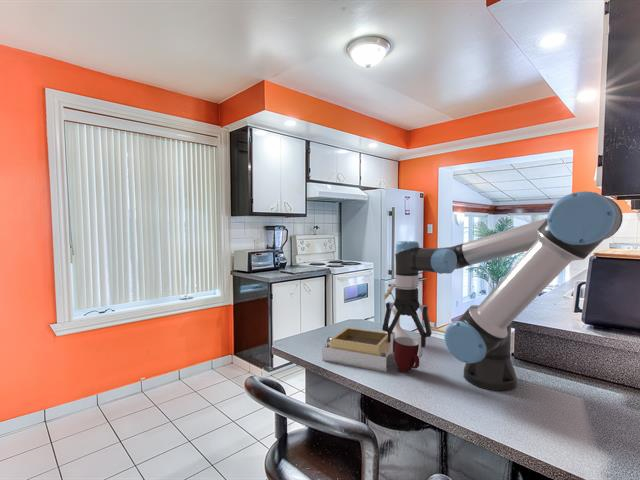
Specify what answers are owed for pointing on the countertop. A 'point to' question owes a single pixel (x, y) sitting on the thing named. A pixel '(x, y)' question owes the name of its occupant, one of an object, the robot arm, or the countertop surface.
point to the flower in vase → (397, 329)
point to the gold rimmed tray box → (359, 349)
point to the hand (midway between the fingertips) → (406, 354)
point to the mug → (406, 353)
